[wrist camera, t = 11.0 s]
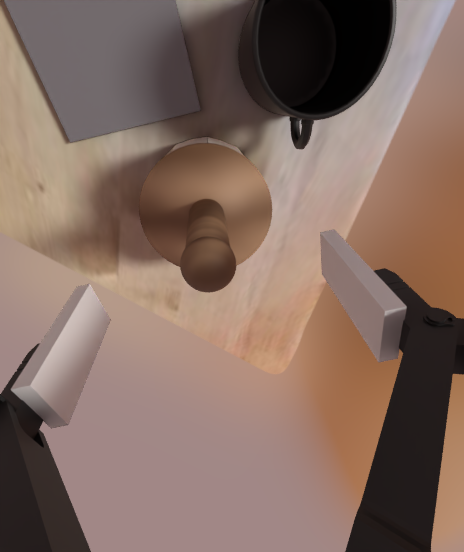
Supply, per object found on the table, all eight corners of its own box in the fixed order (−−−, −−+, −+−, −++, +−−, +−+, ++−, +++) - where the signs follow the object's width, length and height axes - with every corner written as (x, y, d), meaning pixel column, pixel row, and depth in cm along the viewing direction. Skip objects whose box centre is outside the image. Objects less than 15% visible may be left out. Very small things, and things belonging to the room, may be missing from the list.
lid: (119, 161, 24) (59, 206, 14) (259, 127, 24) (300, 148, 14) (166, 278, 30) (147, 366, 20) (277, 253, 30) (313, 330, 20)
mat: (-14, -46, 21) (-20, -49, 21) (154, -92, 21) (153, -96, 20) (72, 141, 28) (70, 142, 28) (200, 110, 28) (200, 110, 27)
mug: (241, 146, 30) (254, 162, 22) (234, -13, 23) (249, -67, 16) (330, 138, 30) (373, 152, 23) (347, -20, 24) (415, -76, 16)
